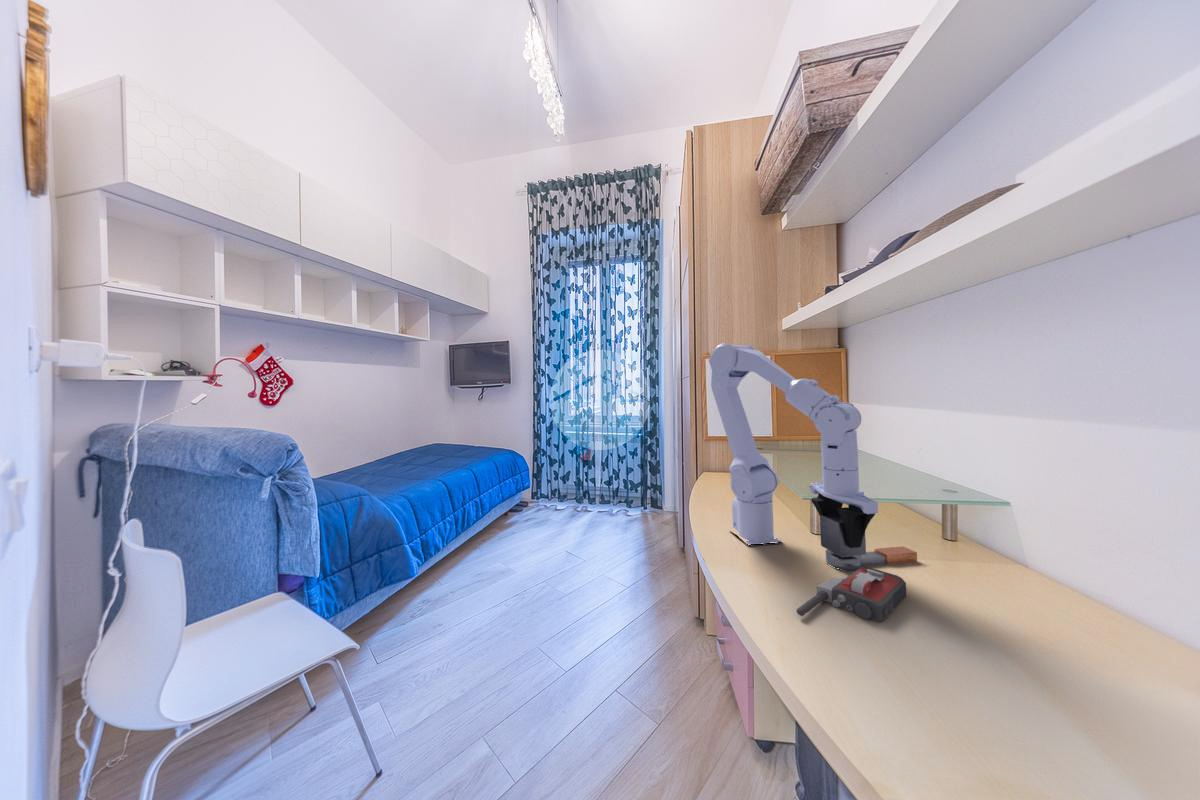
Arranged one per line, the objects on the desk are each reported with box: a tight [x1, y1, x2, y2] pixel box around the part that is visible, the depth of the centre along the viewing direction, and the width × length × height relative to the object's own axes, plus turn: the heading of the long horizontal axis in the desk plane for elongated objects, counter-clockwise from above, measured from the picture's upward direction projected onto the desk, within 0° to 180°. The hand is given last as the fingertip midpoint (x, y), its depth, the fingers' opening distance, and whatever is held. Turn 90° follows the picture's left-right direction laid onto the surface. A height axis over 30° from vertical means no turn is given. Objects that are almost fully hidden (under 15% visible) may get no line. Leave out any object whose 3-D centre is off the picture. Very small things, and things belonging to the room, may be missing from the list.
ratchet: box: [825, 546, 918, 572], centre depth 70 cm, size 16×6×5 cm, turn 95°
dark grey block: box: [819, 513, 867, 557], centre depth 70 cm, size 5×5×6 cm
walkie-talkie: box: [796, 566, 907, 623], centre depth 57 cm, size 9×4×20 cm
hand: (842, 541), depth 70 cm, fingers closed on dark grey block, 5 cm apart
